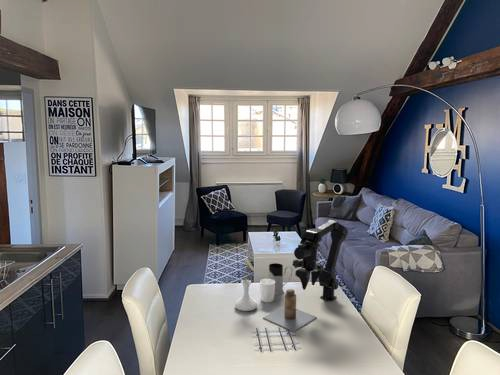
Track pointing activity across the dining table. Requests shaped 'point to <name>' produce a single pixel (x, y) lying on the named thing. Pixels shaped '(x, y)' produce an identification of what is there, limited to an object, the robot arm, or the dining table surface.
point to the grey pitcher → (278, 276)
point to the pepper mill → (290, 304)
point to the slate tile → (291, 325)
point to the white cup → (267, 290)
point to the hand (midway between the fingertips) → (308, 287)
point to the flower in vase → (246, 294)
